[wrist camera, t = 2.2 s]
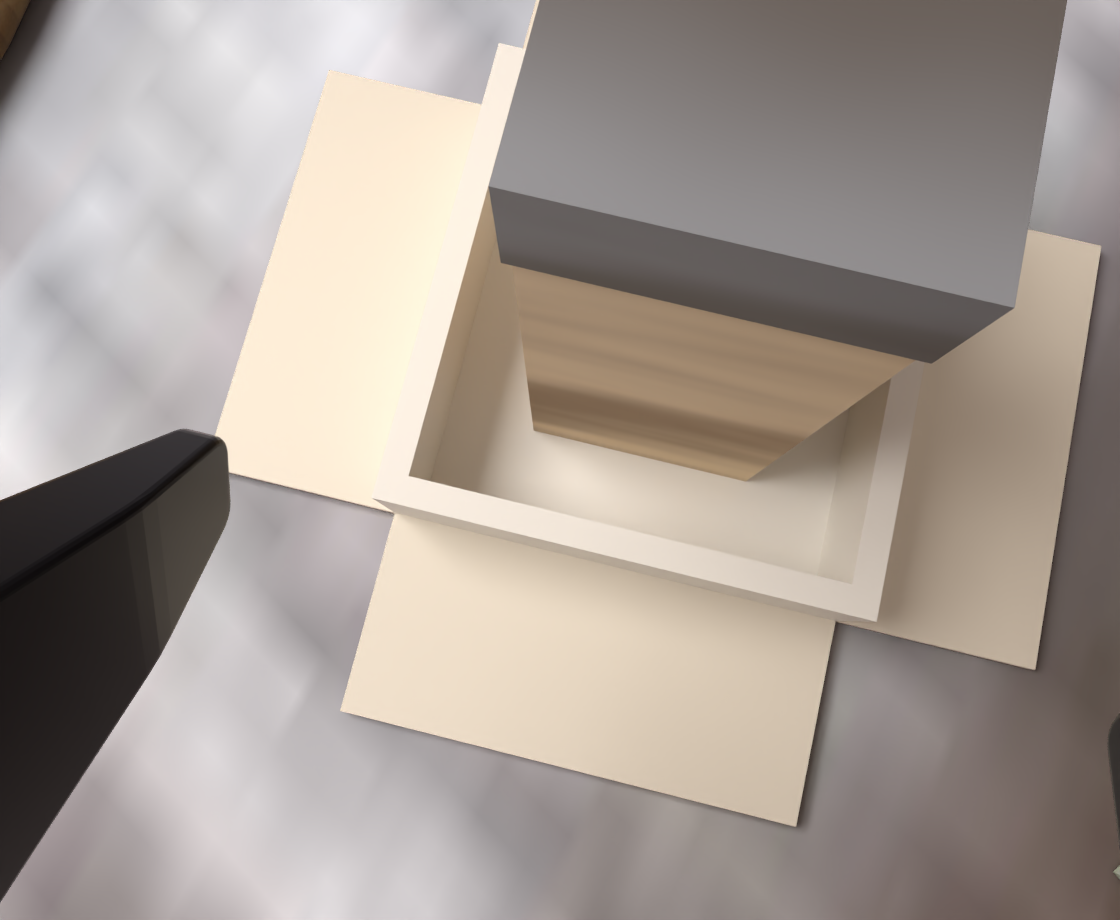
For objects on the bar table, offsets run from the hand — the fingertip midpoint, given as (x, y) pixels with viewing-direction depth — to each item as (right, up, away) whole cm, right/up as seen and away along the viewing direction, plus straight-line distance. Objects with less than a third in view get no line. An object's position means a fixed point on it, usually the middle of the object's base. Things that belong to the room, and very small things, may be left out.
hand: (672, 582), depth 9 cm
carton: (+1, +4, +13) cm, 14 cm away
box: (+1, +4, +13) cm, 13 cm away
